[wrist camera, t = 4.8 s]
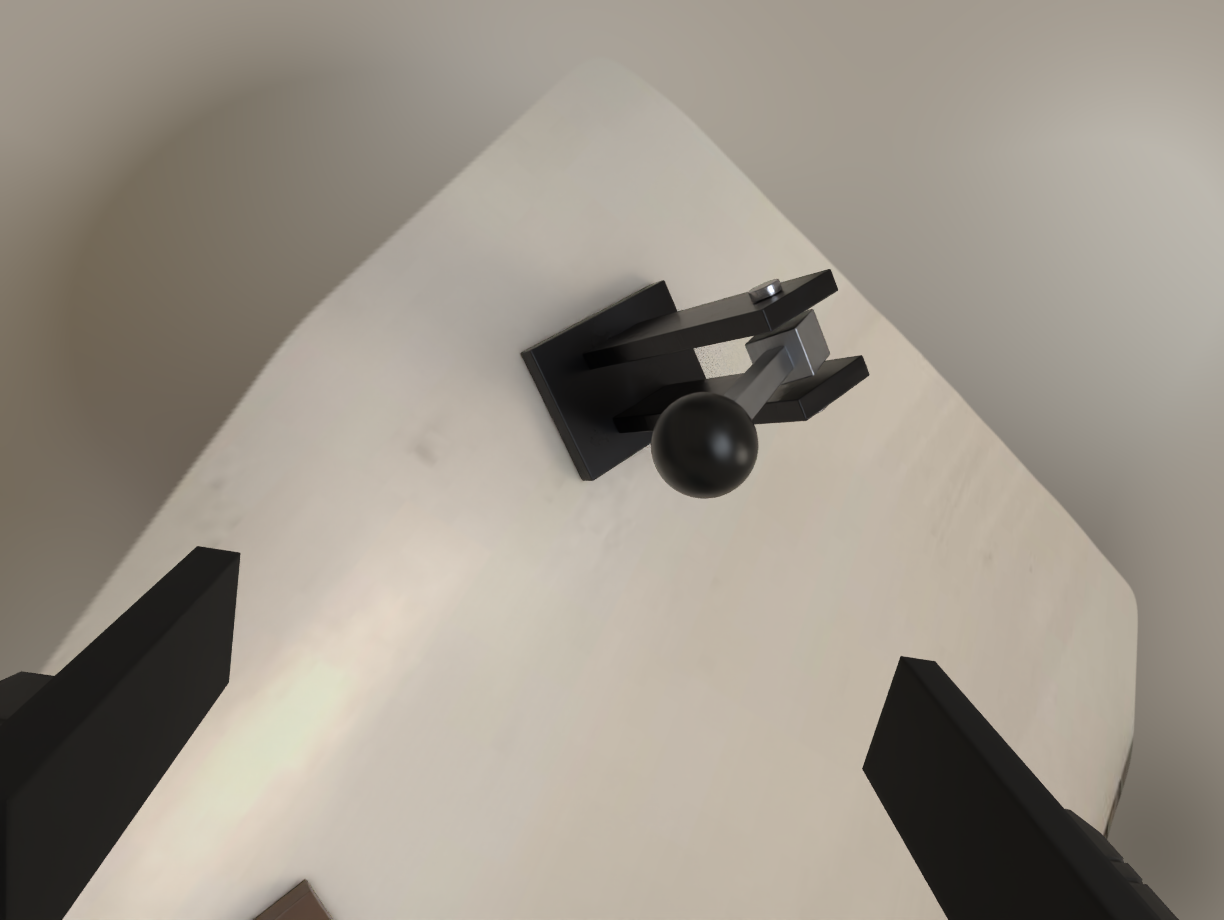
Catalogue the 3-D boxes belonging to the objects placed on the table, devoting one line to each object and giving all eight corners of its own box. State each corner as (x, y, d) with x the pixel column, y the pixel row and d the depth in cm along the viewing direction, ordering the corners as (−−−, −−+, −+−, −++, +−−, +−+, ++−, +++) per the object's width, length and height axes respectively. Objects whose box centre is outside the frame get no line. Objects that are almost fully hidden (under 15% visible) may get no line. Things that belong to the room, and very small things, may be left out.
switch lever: (660, 525, 27) (754, 507, 25) (615, 431, 26) (710, 404, 24) (775, 385, 37) (849, 364, 35) (746, 314, 37) (820, 288, 34)
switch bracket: (582, 481, 45) (775, 486, 32) (520, 353, 44) (698, 301, 30) (704, 402, 50) (918, 378, 37) (653, 283, 48) (859, 211, 35)
